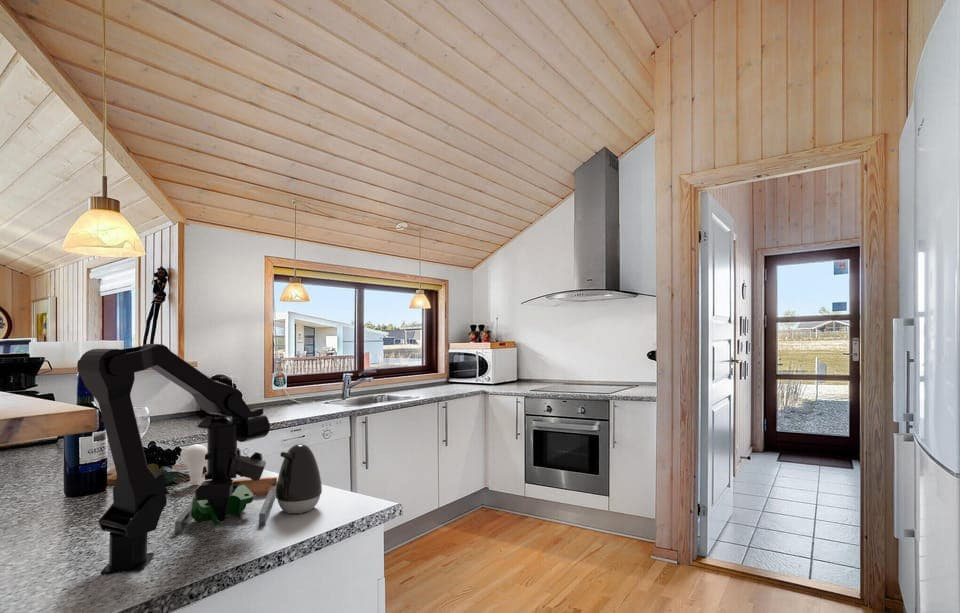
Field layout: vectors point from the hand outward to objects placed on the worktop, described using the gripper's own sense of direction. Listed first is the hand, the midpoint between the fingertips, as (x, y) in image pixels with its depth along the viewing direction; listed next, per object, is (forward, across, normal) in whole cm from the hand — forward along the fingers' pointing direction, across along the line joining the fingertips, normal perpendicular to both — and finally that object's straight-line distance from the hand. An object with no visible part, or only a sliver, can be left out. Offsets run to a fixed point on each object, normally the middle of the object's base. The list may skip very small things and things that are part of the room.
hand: (222, 520), depth 112 cm
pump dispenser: (+2, +8, -15) cm, 17 cm away
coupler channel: (+2, +12, 0) cm, 12 cm away
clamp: (+2, +6, +1) cm, 7 cm away
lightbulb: (+2, +37, +14) cm, 39 cm away
